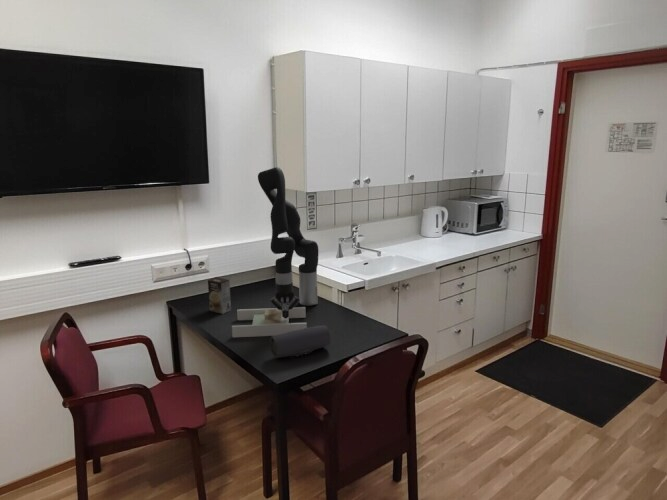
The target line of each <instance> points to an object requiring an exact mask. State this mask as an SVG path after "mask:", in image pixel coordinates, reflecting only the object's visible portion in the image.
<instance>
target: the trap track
mask: <svg viewBox="0 0 667 500" xmlns="http://www.w3.org/2000/svg"><path fill="white" fill-rule="evenodd" d="M285 309H286V307H285ZM265 310H278V309H277V307H275V308H273V307H272V308H271V307H270V308H269V307H268V308H245V309H244V308H243V309H237V310H236V313H237V314H236V316H237V321H252V323H251V324H244V325H243V324H241V325H231V333H232V338H247V337H248V338H251V337H255V338H256V337H269V336H270V337H273V336H276V335H279V334H283V333H286V332H291V331H295V330H299V329H304V328H308V326H307V322H291V323H290V322H289V321H290V319H301V318H302V319H303V318H304V319H306V314H307V313H306V306H299V307H295V306H294V307H293V308H292V309H290V310H289V317H287V318H284V317H283V316H282V310H281V323H265V316H264V315H265ZM285 313H286V312H285Z"/></svg>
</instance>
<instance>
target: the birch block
mask: <svg viewBox="0 0 667 500" xmlns="http://www.w3.org/2000/svg"><path fill="white" fill-rule="evenodd" d="M264 316H265V323H281V310H265V315H264Z"/></svg>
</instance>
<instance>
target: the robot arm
mask: <svg viewBox="0 0 667 500" xmlns="http://www.w3.org/2000/svg"><path fill="white" fill-rule="evenodd" d="M285 178H286V177H285V175H284V172H283V170H282V169H281V168H280V167H278V166H277V167H273V168H269V169H265V170H262V171H260V172H259V173H257V181H258V184H259V186H260V187H261V189H262V191H263V193H264V194H265V196H266V197H267V198H268V200H269V202H270V203H271V205H272V207H271V210H270V223H271V233H272V234H271V240H270V250H271V252H272V253H273V254H274V255H280V254H281V255H282V254H285V255H284V256H281V257H280V258H277V259H276V260H275V279H274V280H275V294H274V296H273V297H271V299H270V302H271V303H272V304H273V305H274V306H275V308H277V309H278V310H282V316H283V317H284V318H287V317H289V310H290V309H292V308H293V307H295V306H296V304H298V302H299V304H300V305H302V306H314V305H318V304H319V303H318V302H319V300H318V299H319V297H318V296H319V295H318V273H317V272H318V269H317V268H318V265H319V244H318V243H317V242H316V241H315V240H311V239H306V238H305V237H304V235H303V234H302V232H301V216H300V213H299V212H298V210H297V208H296V206H295V205H294V204H293V203H292V202H290V201H288V200H287V199H286V179H285ZM285 233H286V234H287V236H281V237H279V235H281V234H285ZM294 253H295V254H296V255H297V256H298V257H301V258H303V259H304V262H303V263H302V264H299V265H298V287H299V288H298V292H299V293H298V294H299V296H296V295H295V293H294V283H293V281H294V280H293V272H292V271H293V269H292V268H293V266H292V261H293V255H294ZM292 300H293V301H292ZM279 303H280V304H279ZM285 308H286V309H285ZM285 312H286V313H285Z"/></svg>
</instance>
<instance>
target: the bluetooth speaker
mask: <svg viewBox="0 0 667 500" xmlns="http://www.w3.org/2000/svg"><path fill="white" fill-rule="evenodd" d="M330 344H331V335H330V331H329V328H328V326H326V325H324V324H323V325H316V326H311V327H307V328H304V329H299V330H295V331H291V332H286V333H283V334H279V335H276V336H270V339H269V349H270V352H271V354H272V356H273V357H274V358H275V359H280V358H285V357H289V356H296V357H298V356H297V355H301V354H305V353H308V354H310V353H309V352H311V353H313V352H314V351H315V350H316V351H317V350H319V349H321V348H324V347H327V346H329V345H330ZM312 351H313V352H312ZM305 355H306V354H305ZM301 356H302V355H301Z"/></svg>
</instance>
